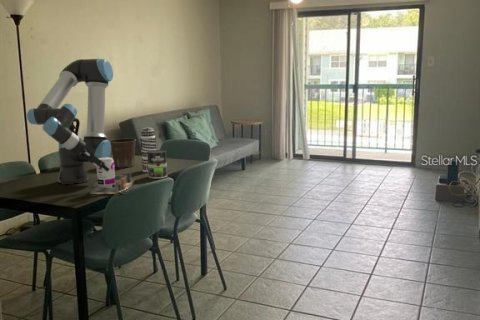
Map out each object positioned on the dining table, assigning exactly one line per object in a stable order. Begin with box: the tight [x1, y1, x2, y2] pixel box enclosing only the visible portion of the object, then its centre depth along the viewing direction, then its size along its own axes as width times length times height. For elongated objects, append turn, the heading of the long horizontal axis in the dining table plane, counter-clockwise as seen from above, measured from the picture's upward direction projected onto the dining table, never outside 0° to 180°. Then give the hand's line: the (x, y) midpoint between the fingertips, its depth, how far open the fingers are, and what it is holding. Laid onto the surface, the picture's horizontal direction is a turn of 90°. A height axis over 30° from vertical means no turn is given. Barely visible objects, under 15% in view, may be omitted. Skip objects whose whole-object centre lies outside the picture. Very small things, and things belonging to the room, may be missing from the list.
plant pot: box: [108, 137, 137, 169], centre depth 290 cm, size 16×16×16 cm
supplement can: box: [95, 156, 116, 188], centre depth 229 cm, size 8×8×15 cm
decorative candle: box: [139, 126, 157, 173], centre depth 274 cm, size 9×9×25 cm
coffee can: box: [147, 149, 168, 180], centre depth 259 cm, size 10×10×14 cm
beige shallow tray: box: [89, 170, 136, 195], centre depth 236 cm, size 16×27×6 cm, turn 2°
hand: (108, 172), depth 229 cm, fingers open, 13 cm apart
